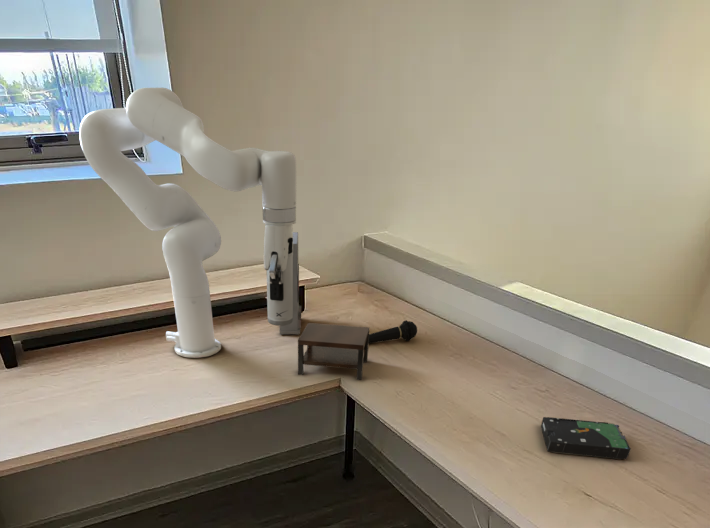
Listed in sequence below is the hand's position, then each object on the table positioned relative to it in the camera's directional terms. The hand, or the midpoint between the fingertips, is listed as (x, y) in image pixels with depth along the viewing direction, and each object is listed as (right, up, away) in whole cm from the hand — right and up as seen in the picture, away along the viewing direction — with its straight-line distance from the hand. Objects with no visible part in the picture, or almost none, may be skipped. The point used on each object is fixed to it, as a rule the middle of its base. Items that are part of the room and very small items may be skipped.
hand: (280, 294), depth 135 cm
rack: (+13, -16, +8) cm, 22 cm away
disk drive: (+62, -38, -22) cm, 76 cm away
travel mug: (0, -6, +4) cm, 7 cm away
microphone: (+28, -6, +22) cm, 36 cm away
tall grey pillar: (+2, +1, +32) cm, 32 cm away
